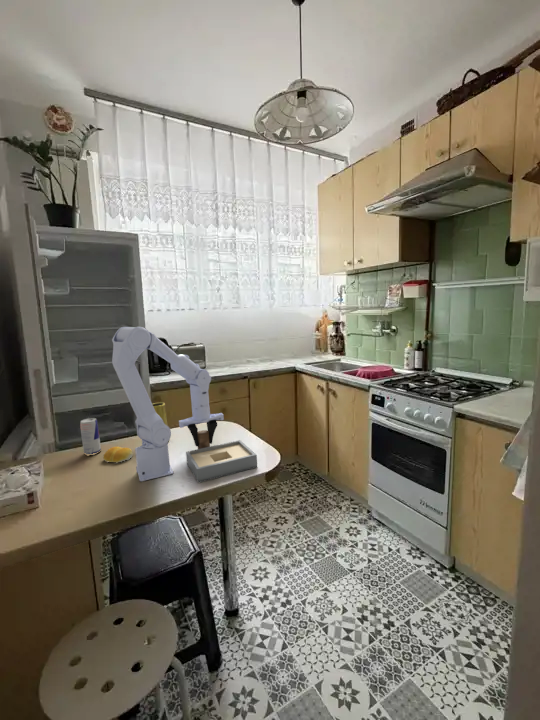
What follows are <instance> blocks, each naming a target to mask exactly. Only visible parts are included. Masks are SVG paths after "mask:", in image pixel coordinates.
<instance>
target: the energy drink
mask: <svg viewBox="0 0 540 720" xmlns="http://www.w3.org/2000/svg"><path fill="white" fill-rule="evenodd" d="M98 424H99V423H98V419H97V418H95V417H87V418H84V419H82V420H80V424H79V427H80V428H79V429H80V434H81V441H82V448H83V449H82V450H83V454H84V453H86V454H93V453H97V452H99V451H100V450H101V451H102V448H101V447H102V446H101V439H100V431H99V425H98Z"/></svg>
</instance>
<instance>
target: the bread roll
mask: <svg viewBox="0 0 540 720" xmlns="http://www.w3.org/2000/svg"><path fill="white" fill-rule="evenodd" d="M133 455H134V453H133V450H132V449H131V448H130V447H121V446H112V447H110V448H108V449H107V450H106V451H105V452H104V454H103V456H102V457H103V460H104V461H105V462H106V461H109V462H116V463H115V464H118V463H117V462H121V463H123V462H122V461H124V462H126V461H125V460H127V461H129V460H130V458H132V457H133Z"/></svg>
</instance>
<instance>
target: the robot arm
mask: <svg viewBox="0 0 540 720" xmlns="http://www.w3.org/2000/svg"><path fill="white" fill-rule="evenodd" d="M111 342H112V344H113V347H112V356H111V357H112V360H111V363H112V367H113V369H114V370H115V373H116V375H117V377H118V380H119V381H120V384H121V386H122V388H123V390H124V394H126V397H127V399H128V402H129V403H130V406H131V408H132V410H133V412H134V414H135V416H136V419H135V422H134V423H135V425H136V435H137V437H138V438H139V439H140V440H141V445H140V446H137V447H135V448H134V451H135V462H136V467H135V468H136V469H135V470H136V473H137V475H138V478H139V479H138V480H139V481H140V482H145V481H148V480H152V479H153V480H154V479H156V478H161V477H166V476H169V475H173V474H174V470H173V468H172V466H171V464H170V455H169V443H168V442H170V440H171V437H172V431H171V428H170V426H169V425H168V424H167V425H165V424H164V422H163V420H162V418H161V417H160V416H159V415H158V414H157V413H156V412H155V409H154V407H153V405H152V404H153V403H152V401H151V398H150V396H149V394H148V391H147V389H146V387H145V384H144V382H143V380H142V378H141V375H140V373H139V371H138V368H137V365H136V362H137V360H138V358H139V357H140V356H141V354H142V353H143V352H145V350H150V351H151V352H153V353H154V354H155V355H157V356H158V357H160V358H161V359H164V360H165V361H166V362H167V363H169V364H170V369H171V370H172V371H174V372H175V373H176V374H177V375H179V376H181V377H182V378H184V379H185V382H186V383H187V384H188V385H189V391H190V402H191V412H192V414H191V415H192V416H191V417H188V418H184V419H181V420H178V426H179V428H181V429H182V428H184V427H187V428H188V430H189V432H190V434H191V436H192V439H193V443H194V446H195V447H197V448H198V446H199V443H198V431H199V428H198V427H197V425H199V424H201V425H202V424H205V423H206V427H207V431H209V441H210V445H211V444H213V438H214V435H215V431H216V429H217V427H218V422H217V421H224V420H225V418H224V416H225V415H224V414H223V412H220V413H211V409H210V395H209V390H210V383H211V381H212V376H211V375H210V373H209V371H208V370H207V369H204V368H201V367H200V364H198V363H195V362H194V361H193V360H191V359H190V356H189V355H188V354H181V353H180V354H177V353H176V352H175V351H174V350H173V349H172V348H170V347H169V346H168V345H167V344H166V343H164V342H163V341H162V340H161V339H159V338H158V337H157V336H156V335H155V333H154V332H151V331H149V330H148V329H147V328H145V327H143V326H135V327H133V326H122V327H119V329H117V331H116V332H115V333H114V335H113V337H112V338H111ZM169 439H170V440H169Z"/></svg>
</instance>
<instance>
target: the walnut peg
mask: <svg viewBox="0 0 540 720" xmlns="http://www.w3.org/2000/svg"><path fill="white" fill-rule="evenodd" d="M198 443H199V446H197V449H201V448H206V447H210V446H211V444H210V441H209V431H208V429H207V430H206V429H204V430H198Z"/></svg>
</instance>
